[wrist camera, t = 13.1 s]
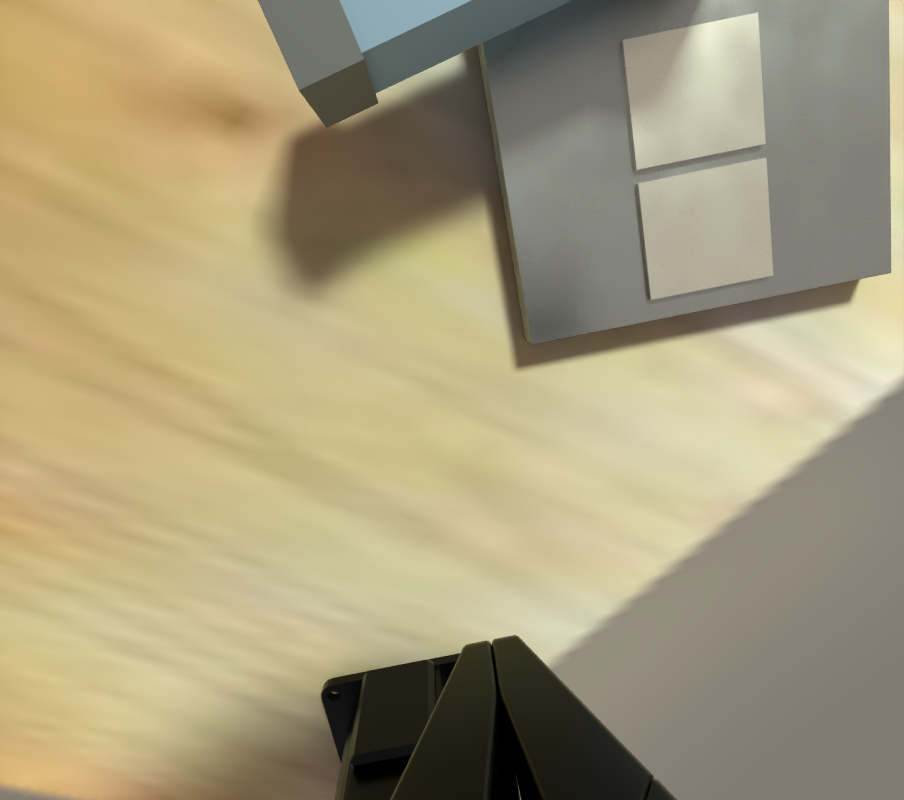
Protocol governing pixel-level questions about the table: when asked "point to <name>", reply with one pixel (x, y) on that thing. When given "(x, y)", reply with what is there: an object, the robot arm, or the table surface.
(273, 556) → the table surface
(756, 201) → the lid
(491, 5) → the lever
